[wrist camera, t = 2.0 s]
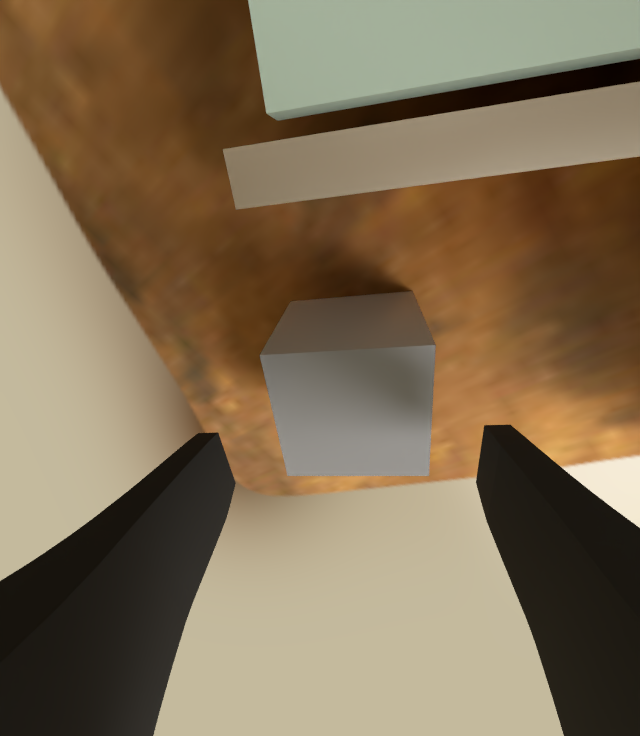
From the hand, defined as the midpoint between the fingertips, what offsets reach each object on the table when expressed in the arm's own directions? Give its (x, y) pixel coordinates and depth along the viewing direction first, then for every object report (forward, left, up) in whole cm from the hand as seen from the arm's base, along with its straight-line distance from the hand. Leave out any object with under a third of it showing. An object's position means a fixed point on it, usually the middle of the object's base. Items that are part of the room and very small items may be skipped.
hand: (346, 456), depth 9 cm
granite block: (0, 0, -7) cm, 7 cm away
